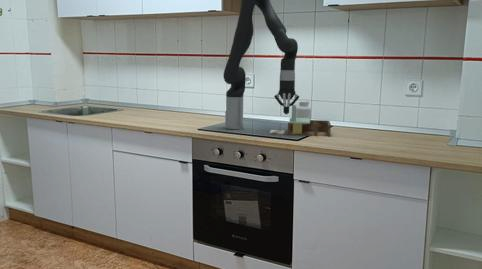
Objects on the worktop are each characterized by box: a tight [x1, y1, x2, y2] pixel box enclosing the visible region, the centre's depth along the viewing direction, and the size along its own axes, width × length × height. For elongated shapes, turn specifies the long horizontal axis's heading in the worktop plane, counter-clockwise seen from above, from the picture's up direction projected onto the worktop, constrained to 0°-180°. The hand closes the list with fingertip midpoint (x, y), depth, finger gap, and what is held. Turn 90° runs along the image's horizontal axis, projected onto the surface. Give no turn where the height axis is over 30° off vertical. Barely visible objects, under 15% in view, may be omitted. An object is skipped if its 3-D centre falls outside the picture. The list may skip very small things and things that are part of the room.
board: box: [268, 119, 332, 138], centre depth 227 cm, size 30×13×7 cm, turn 82°
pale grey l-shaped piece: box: [288, 104, 310, 124], centre depth 226 cm, size 10×13×8 cm
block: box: [293, 123, 302, 134], centre depth 227 cm, size 4×4×6 cm
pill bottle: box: [296, 100, 312, 120], centre depth 246 cm, size 8×8×15 cm
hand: (286, 114), depth 226 cm, fingers closed
